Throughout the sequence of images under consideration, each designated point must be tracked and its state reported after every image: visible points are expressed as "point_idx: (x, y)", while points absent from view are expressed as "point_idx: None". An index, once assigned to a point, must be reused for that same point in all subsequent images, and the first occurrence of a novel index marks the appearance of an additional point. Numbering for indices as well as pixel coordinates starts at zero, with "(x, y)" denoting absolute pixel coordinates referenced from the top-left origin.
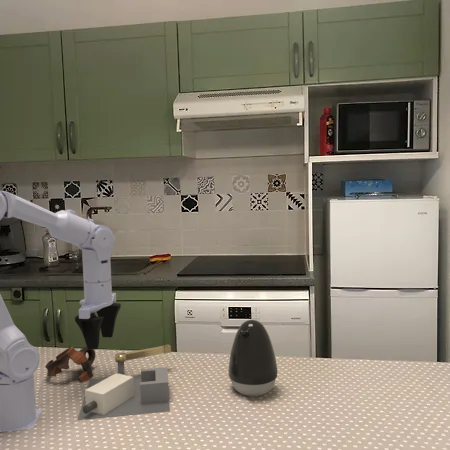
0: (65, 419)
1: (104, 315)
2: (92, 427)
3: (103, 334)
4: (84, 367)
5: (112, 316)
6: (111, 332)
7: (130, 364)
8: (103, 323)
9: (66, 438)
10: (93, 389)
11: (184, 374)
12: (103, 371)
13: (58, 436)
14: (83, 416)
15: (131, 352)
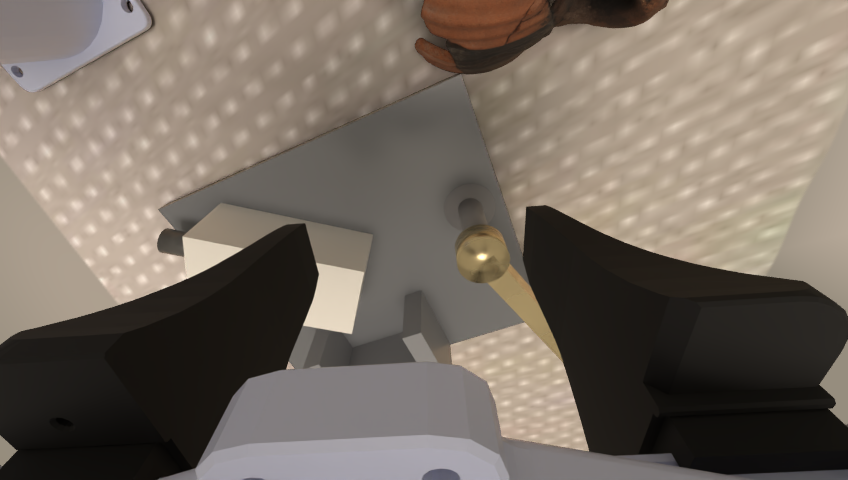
0: (162, 155)
1: (592, 332)
2: (171, 254)
3: (530, 221)
4: (454, 56)
5: (577, 385)
6: (532, 282)
7: (654, 158)
8: (564, 268)
9: (87, 219)
10: (202, 262)
11: (548, 348)
12: (578, 72)
13: (79, 192)
14: (185, 215)
15: (514, 294)
